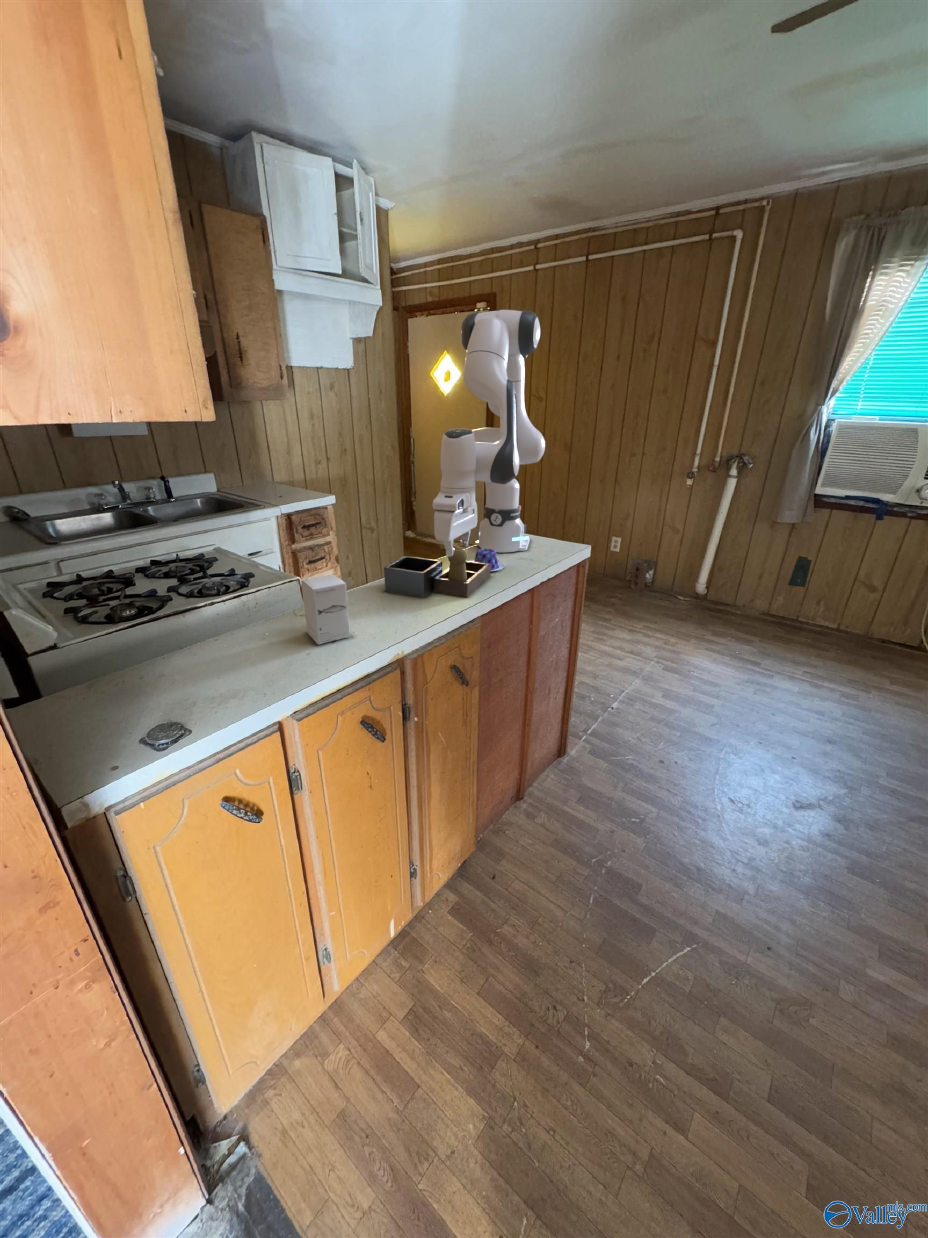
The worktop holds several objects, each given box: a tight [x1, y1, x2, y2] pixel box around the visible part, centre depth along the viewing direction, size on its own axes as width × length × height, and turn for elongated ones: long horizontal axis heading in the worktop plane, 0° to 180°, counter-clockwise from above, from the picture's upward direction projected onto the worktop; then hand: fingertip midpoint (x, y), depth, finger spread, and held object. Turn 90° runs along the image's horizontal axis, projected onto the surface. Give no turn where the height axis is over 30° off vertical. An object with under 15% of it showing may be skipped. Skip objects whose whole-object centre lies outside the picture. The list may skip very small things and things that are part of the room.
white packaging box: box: [300, 573, 351, 645], centre depth 107 cm, size 7×7×13 cm
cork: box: [447, 548, 468, 582], centre depth 134 cm, size 6×6×11 cm
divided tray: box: [433, 560, 492, 598], centre depth 139 cm, size 18×10×4 cm, turn 158°
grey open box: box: [383, 555, 443, 599], centre depth 136 cm, size 12×12×7 cm
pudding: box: [471, 548, 507, 572], centre depth 153 cm, size 12×12×5 cm
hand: (457, 551), depth 132 cm, fingers open, 8 cm apart
